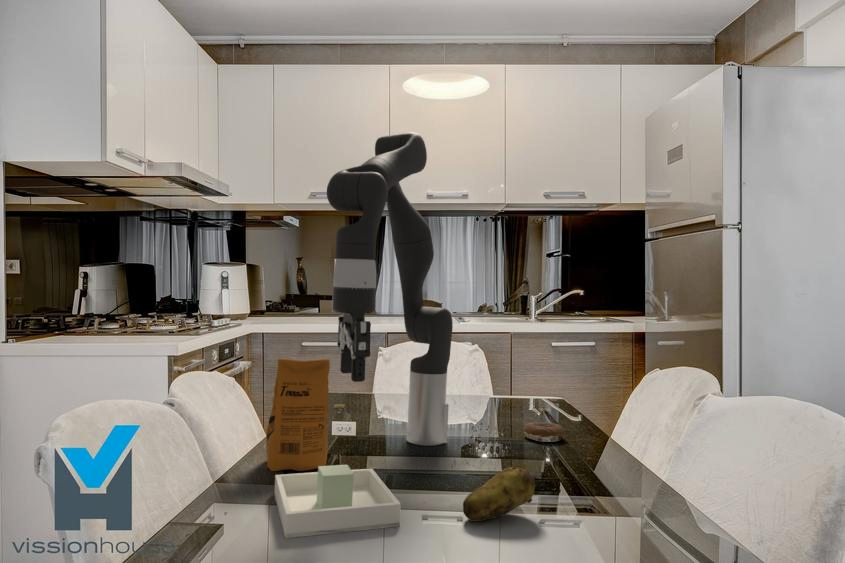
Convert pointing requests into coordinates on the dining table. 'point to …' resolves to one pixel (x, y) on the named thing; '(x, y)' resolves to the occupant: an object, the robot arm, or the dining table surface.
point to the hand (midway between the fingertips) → (352, 376)
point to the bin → (306, 519)
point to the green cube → (334, 486)
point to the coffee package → (299, 416)
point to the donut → (543, 430)
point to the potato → (500, 494)
